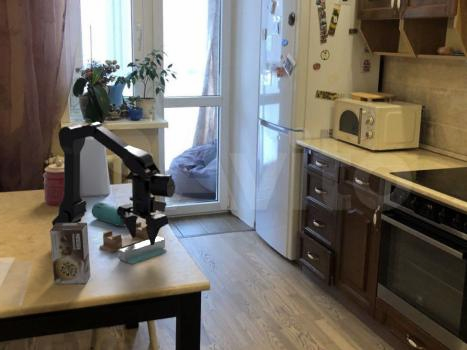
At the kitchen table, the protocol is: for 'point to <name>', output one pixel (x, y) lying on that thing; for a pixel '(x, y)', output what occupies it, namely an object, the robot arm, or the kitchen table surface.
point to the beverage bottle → (107, 213)
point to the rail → (141, 249)
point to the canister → (54, 183)
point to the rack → (123, 239)
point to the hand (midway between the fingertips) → (142, 241)
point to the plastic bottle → (93, 169)
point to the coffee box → (70, 253)
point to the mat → (146, 256)
